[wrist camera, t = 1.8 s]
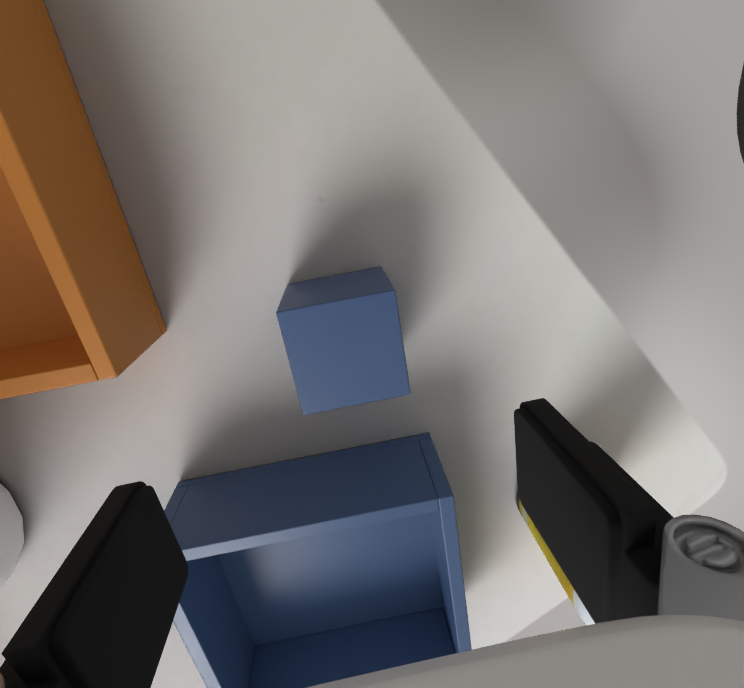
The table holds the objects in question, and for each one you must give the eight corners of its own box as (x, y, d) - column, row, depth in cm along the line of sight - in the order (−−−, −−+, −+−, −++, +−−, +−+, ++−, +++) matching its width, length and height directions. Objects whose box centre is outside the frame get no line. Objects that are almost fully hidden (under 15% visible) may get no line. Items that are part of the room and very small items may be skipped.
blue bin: (429, 432, 26) (453, 495, 21) (452, 604, 32) (476, 686, 27) (178, 481, 26) (140, 558, 21) (248, 646, 32) (232, 738, 26)
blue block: (381, 266, 22) (395, 289, 17) (395, 352, 24) (411, 394, 19) (287, 283, 22) (275, 312, 17) (308, 369, 24) (303, 415, 19)
